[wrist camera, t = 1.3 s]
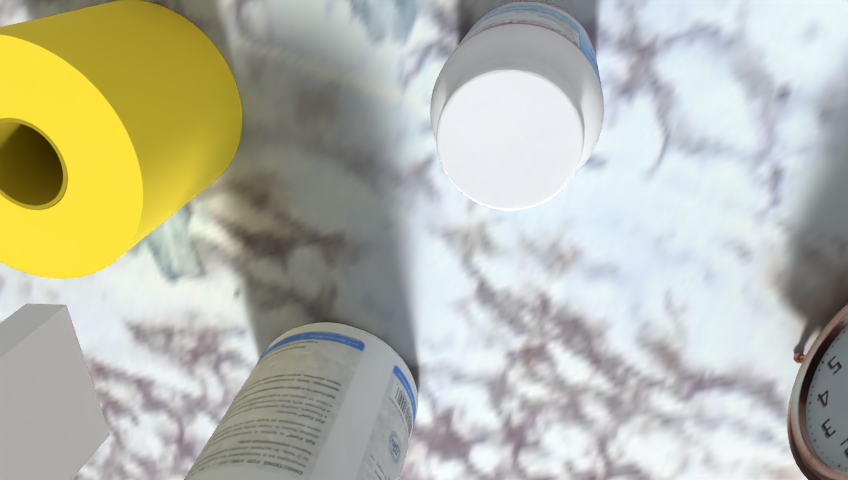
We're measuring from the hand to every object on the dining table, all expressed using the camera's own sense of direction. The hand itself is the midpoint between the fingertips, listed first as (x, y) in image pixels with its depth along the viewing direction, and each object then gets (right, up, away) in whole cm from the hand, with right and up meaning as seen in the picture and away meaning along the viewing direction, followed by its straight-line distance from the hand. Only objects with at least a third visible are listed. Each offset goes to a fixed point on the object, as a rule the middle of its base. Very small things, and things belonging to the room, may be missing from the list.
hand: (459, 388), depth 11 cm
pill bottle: (+4, +10, +21) cm, 24 cm away
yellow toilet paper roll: (-15, +9, +25) cm, 31 cm away
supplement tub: (-5, -6, +31) cm, 32 cm away
